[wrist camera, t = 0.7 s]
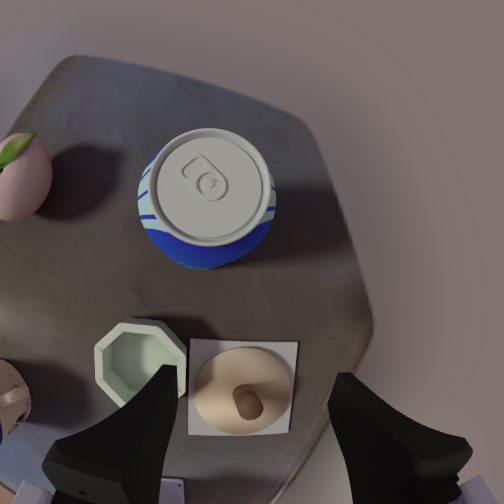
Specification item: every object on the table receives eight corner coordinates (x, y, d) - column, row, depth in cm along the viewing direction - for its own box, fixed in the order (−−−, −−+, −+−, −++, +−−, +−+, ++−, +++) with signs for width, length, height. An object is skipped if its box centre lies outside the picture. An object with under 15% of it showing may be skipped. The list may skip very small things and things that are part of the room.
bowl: (185, 400, 29) (185, 415, 25) (107, 391, 27) (97, 405, 23) (187, 322, 30) (187, 328, 26) (105, 314, 28) (94, 319, 24)
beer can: (236, 188, 32) (277, 114, 16) (244, 266, 31) (296, 256, 16) (158, 193, 30) (132, 119, 15) (163, 274, 30) (133, 271, 14)
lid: (283, 429, 30) (297, 448, 26) (193, 430, 28) (194, 452, 24) (292, 347, 31) (309, 357, 27) (195, 344, 29) (196, 356, 25)
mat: (286, 431, 31) (287, 432, 30) (188, 432, 29) (188, 434, 28) (296, 341, 32) (297, 342, 32) (190, 338, 30) (190, 338, 29)
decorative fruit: (36, 245, 27) (-14, 232, 17) (-1, 205, 26) (-49, 185, 16) (82, 176, 29) (46, 140, 19) (42, 143, 28) (5, 104, 18)
